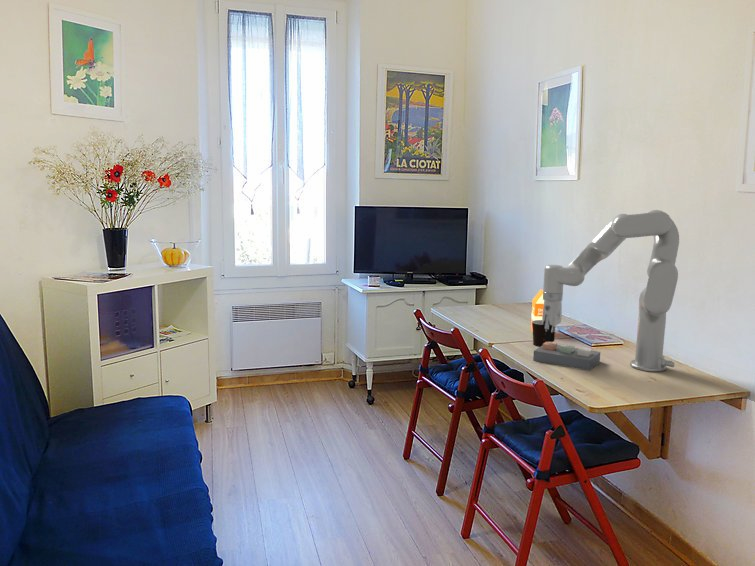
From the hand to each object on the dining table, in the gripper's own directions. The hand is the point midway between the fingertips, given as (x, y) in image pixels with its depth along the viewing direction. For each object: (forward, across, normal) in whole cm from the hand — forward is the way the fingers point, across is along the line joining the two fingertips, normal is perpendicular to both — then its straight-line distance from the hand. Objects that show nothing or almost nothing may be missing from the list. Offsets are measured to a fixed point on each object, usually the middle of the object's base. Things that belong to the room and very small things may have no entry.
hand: (549, 341), depth 245 cm
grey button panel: (+7, 0, -7) cm, 10 cm away
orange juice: (+7, +39, +18) cm, 44 cm away
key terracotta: (+4, 0, 0) cm, 4 cm away
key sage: (+4, 0, -7) cm, 8 cm away
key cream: (+4, 0, -14) cm, 15 cm away
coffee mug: (+7, +19, +9) cm, 22 cm away
